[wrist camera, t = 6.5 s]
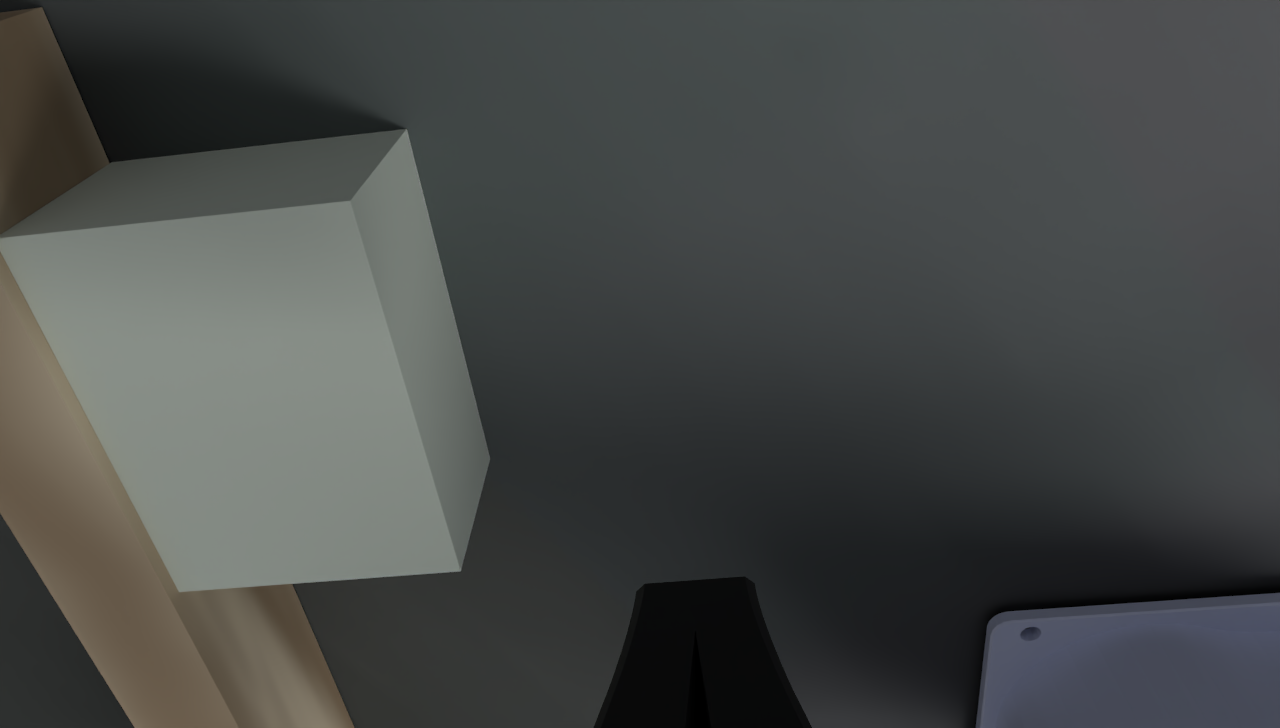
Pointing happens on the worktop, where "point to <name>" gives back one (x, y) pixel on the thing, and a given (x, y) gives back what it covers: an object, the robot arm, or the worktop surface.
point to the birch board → (92, 492)
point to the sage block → (266, 357)
